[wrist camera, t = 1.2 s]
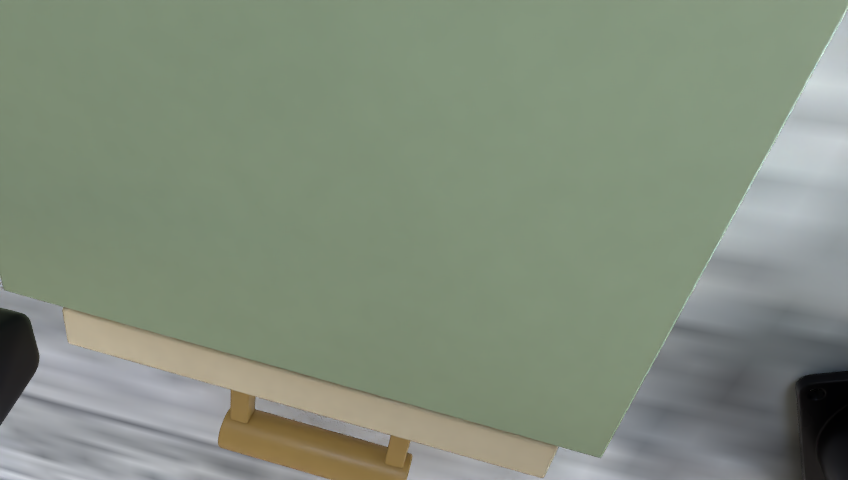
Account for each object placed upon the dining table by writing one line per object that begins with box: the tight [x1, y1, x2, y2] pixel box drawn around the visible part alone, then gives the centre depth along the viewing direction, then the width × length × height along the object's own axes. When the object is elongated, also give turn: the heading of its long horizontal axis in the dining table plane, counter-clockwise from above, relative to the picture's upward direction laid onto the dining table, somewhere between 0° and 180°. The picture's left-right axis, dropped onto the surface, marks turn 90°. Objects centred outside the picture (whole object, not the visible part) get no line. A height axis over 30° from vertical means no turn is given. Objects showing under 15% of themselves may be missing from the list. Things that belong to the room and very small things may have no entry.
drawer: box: [62, 307, 558, 480], centre depth 16 cm, size 18×12×7 cm, turn 169°
